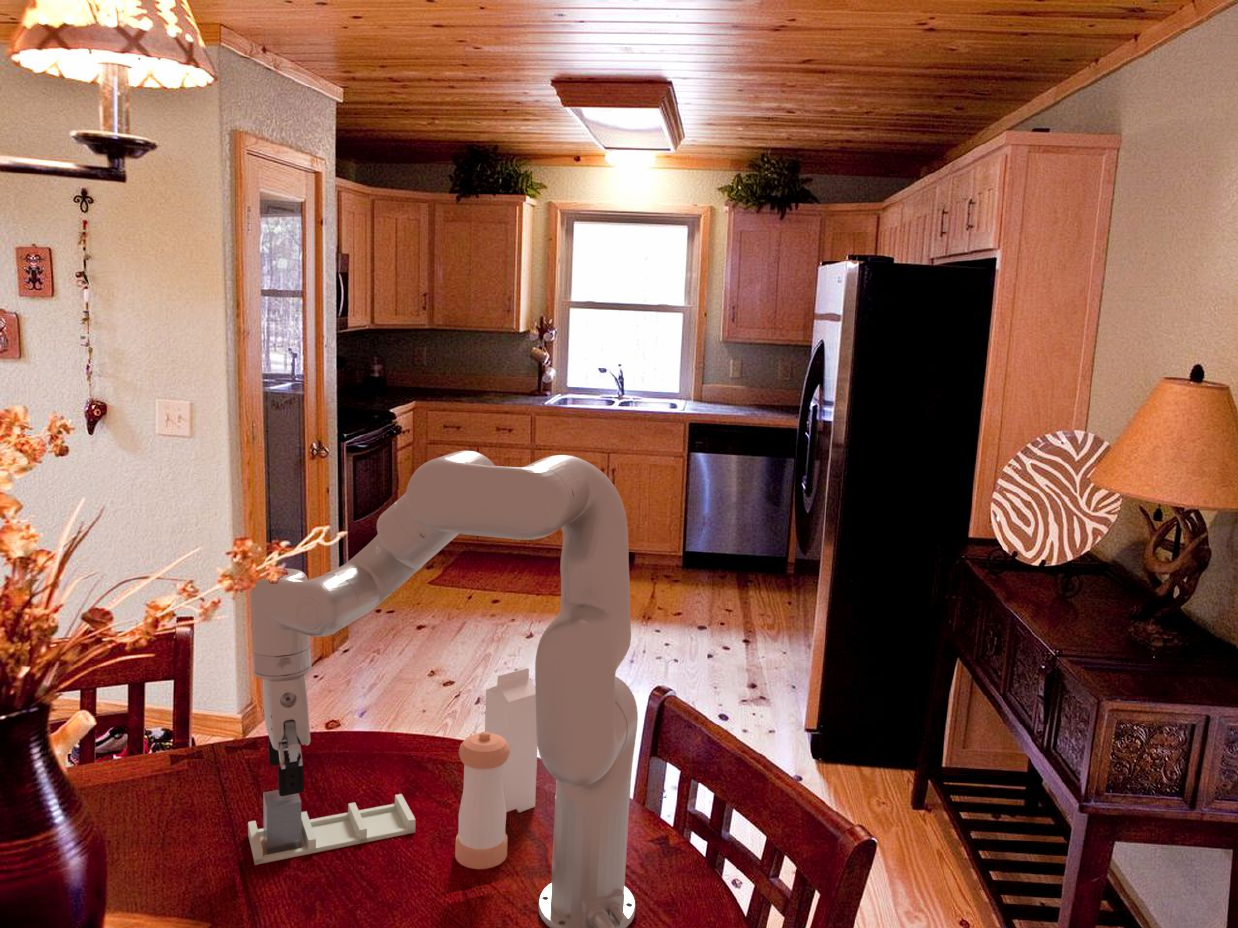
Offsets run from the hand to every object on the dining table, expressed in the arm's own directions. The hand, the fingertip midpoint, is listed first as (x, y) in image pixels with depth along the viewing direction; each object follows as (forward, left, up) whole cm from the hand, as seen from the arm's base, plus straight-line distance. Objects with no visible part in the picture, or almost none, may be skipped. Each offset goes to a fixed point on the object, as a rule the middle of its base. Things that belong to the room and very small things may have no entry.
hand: (286, 777), depth 133 cm
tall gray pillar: (0, +1, -10) cm, 10 cm away
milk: (+1, -33, -11) cm, 35 cm away
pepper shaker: (-12, -24, -11) cm, 30 cm away
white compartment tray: (+1, -6, -11) cm, 13 cm away
